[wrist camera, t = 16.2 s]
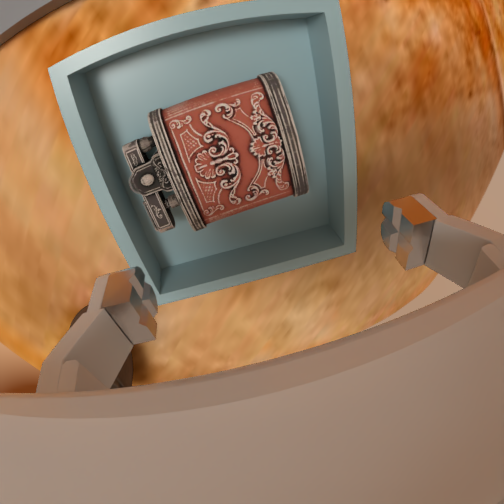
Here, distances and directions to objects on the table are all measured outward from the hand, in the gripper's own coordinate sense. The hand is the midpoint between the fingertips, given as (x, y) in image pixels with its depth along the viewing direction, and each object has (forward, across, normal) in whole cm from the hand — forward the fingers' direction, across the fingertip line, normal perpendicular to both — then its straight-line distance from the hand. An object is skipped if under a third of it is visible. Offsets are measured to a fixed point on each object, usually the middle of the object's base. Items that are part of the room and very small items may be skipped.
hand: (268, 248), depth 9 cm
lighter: (+10, -4, 0) cm, 11 cm away
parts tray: (+12, +1, 0) cm, 13 cm away
